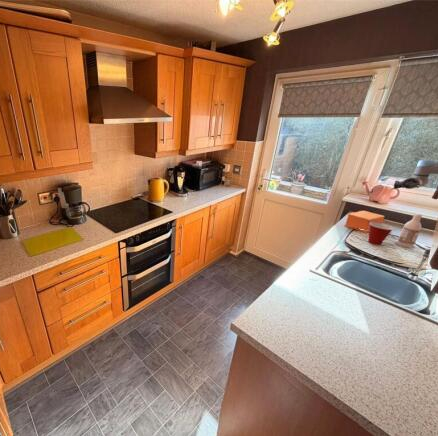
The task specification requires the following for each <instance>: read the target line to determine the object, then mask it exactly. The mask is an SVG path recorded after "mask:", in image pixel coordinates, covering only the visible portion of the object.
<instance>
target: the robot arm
mask: <svg viewBox="0 0 438 436" xmlns="http://www.w3.org/2000/svg"><path fill="white" fill-rule="evenodd" d="M426 159H427V158H426ZM426 159H424V158H423V159H420V160H419V161H418V162H417V165H416V167H415V170H414V173H413V174H412V177H409V178H406V179H404V180H401V181H398V180H395V181H394V184H393V189H395V190H397V189H401V188H402V189H406V190H407V189H408V190H412V189H420V188H421V187H423V186H426V185H427V184H428V183H429V182H428V181H429V180H428V179H429V177H430V175H431V174H433V175H438V162H436V160H435V159H427V160H426Z"/></svg>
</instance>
